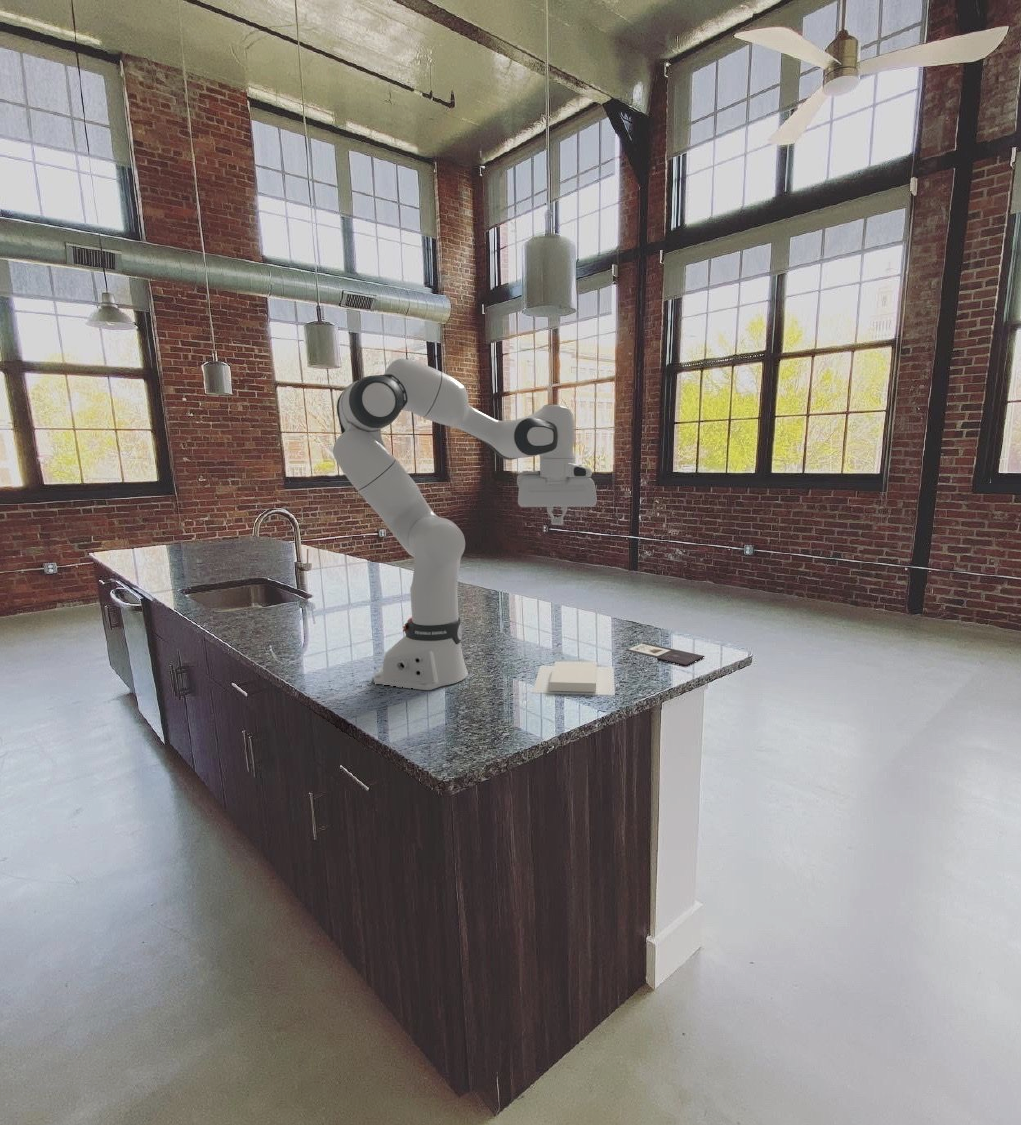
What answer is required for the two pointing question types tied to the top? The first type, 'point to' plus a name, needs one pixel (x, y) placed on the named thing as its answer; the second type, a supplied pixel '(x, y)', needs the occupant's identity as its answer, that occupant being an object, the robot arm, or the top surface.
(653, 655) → the chocolate bar
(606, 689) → the mat
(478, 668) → the top surface
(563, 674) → the tile
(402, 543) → the robot arm
